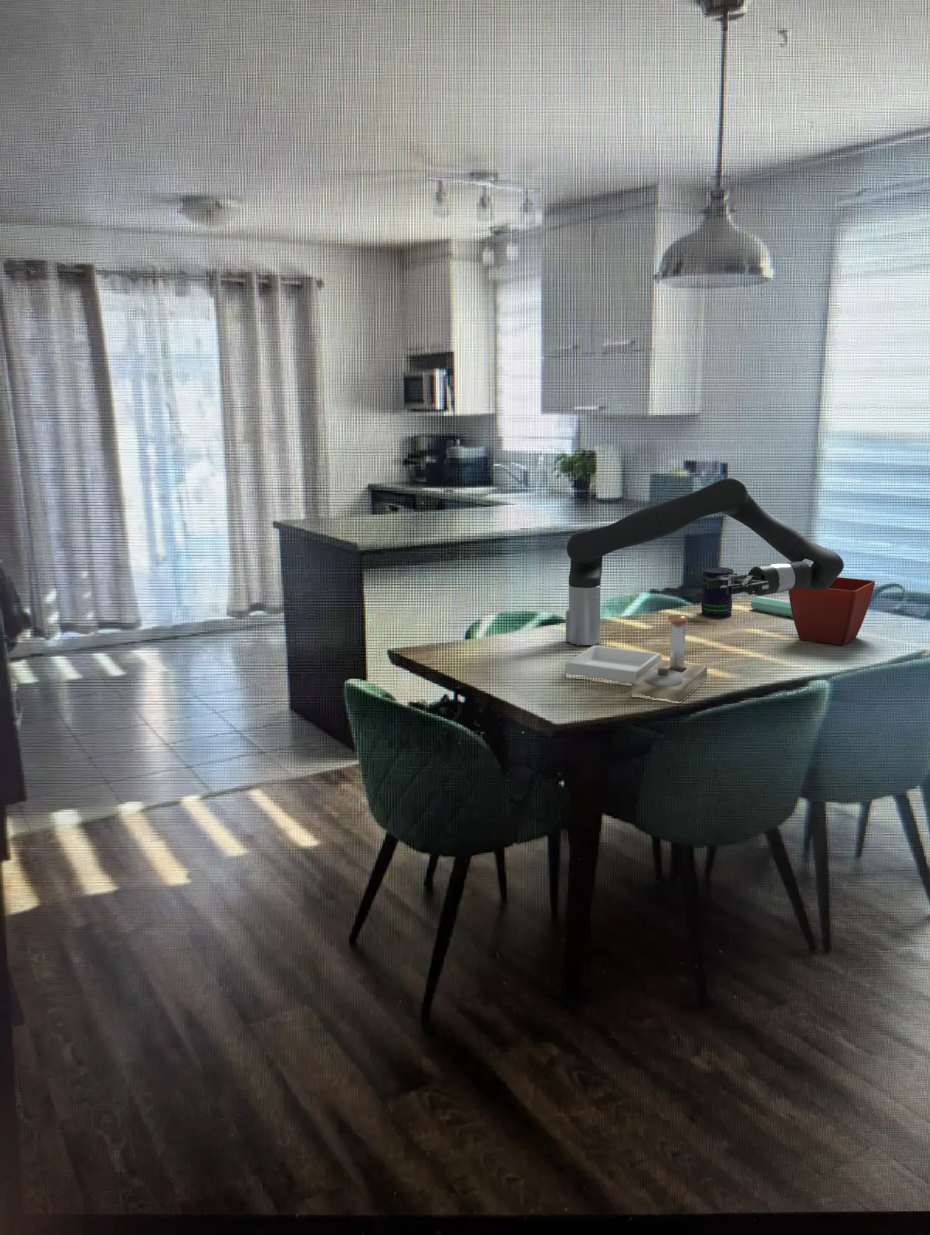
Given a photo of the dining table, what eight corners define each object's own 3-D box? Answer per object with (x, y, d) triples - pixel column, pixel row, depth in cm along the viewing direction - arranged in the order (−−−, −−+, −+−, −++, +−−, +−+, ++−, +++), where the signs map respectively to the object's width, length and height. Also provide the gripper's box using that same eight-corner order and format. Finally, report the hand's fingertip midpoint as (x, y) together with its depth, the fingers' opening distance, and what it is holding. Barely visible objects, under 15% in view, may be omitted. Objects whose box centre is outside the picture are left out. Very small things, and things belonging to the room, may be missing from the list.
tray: (565, 677, 235) (565, 662, 234) (593, 659, 251) (594, 645, 250) (636, 687, 226) (636, 672, 225) (660, 668, 242) (661, 653, 241)
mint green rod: (750, 592, 305) (817, 603, 285) (760, 596, 308) (827, 607, 288) (745, 609, 305) (812, 621, 285) (755, 613, 308) (822, 625, 288)
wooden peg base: (631, 697, 219) (631, 671, 218) (660, 673, 237) (661, 649, 236) (680, 704, 213) (681, 678, 212) (706, 679, 231) (707, 655, 230)
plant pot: (806, 627, 281) (810, 573, 277) (871, 636, 269) (876, 580, 265) (783, 640, 266) (786, 583, 263) (851, 650, 255) (855, 591, 251)
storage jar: (694, 613, 303) (696, 568, 299) (720, 610, 305) (722, 566, 302) (711, 619, 293) (713, 573, 290) (738, 616, 296) (740, 571, 293)
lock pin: (664, 683, 229) (666, 617, 225) (670, 678, 233) (672, 613, 229) (682, 686, 226) (685, 619, 222) (688, 681, 230) (691, 615, 226)
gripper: (754, 560, 238) (700, 568, 233) (790, 568, 225) (734, 577, 220) (754, 589, 240) (700, 597, 235) (789, 598, 227) (734, 607, 222)
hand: (717, 587), depth 227 cm, fingers open, 8 cm apart
